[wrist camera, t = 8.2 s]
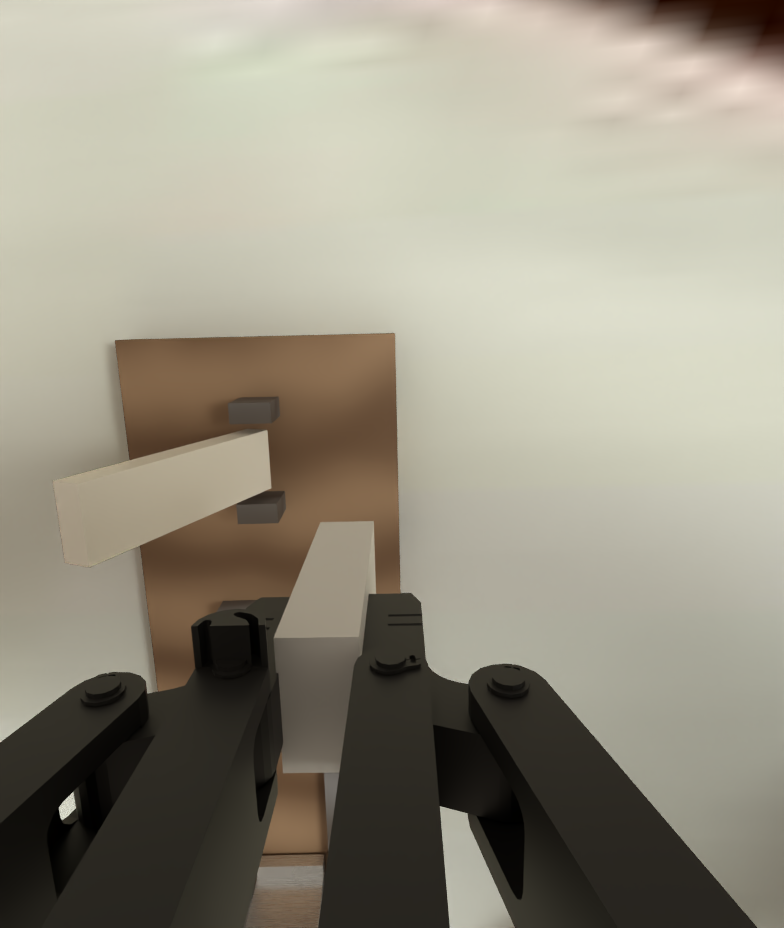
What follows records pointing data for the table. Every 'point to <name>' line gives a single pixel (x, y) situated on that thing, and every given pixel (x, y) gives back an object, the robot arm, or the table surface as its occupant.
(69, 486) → the toggle lever
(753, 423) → the table surface
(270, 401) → the control board
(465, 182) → the table surface
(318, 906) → the slide knob
